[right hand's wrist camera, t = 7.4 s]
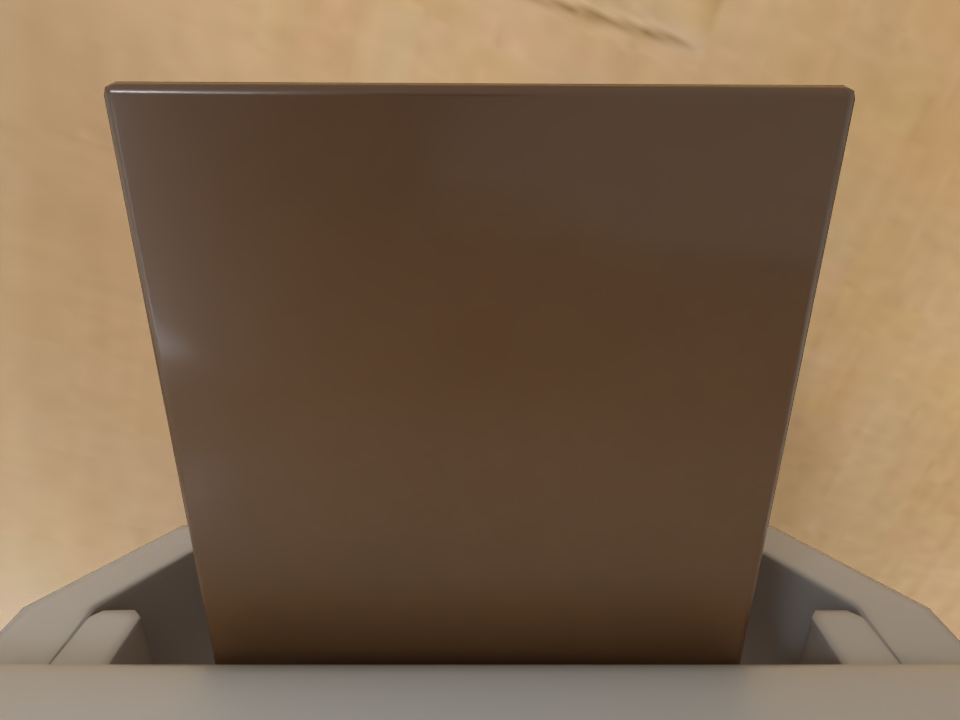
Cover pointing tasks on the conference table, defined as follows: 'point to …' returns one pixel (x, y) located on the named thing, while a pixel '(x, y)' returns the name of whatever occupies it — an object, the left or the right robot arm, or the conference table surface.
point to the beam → (478, 356)
